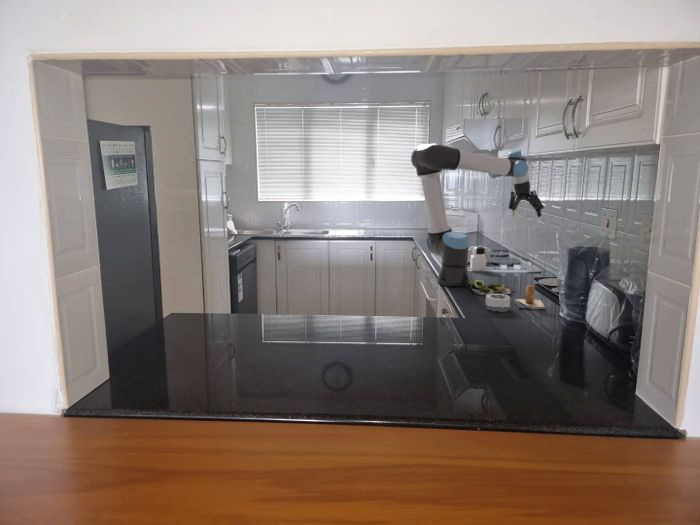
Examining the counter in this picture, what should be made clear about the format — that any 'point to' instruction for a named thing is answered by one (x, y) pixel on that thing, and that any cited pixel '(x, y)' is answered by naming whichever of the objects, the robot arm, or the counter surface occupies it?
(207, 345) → the counter surface
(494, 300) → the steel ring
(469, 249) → the lumpy-topped squat cylinder
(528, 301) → the keeper
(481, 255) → the medicine bottle
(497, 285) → the salad plate
